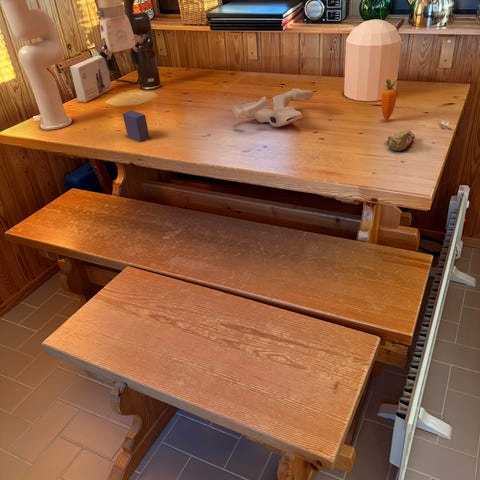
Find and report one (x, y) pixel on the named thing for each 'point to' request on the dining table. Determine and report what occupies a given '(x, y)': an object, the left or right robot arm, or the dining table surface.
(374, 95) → the container
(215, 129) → the dining table surface
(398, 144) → the rock
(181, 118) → the dining table surface
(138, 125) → the block
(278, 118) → the white branched piece
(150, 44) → the right robot arm
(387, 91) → the carrot
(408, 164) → the dining table surface
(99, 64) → the skincare box
